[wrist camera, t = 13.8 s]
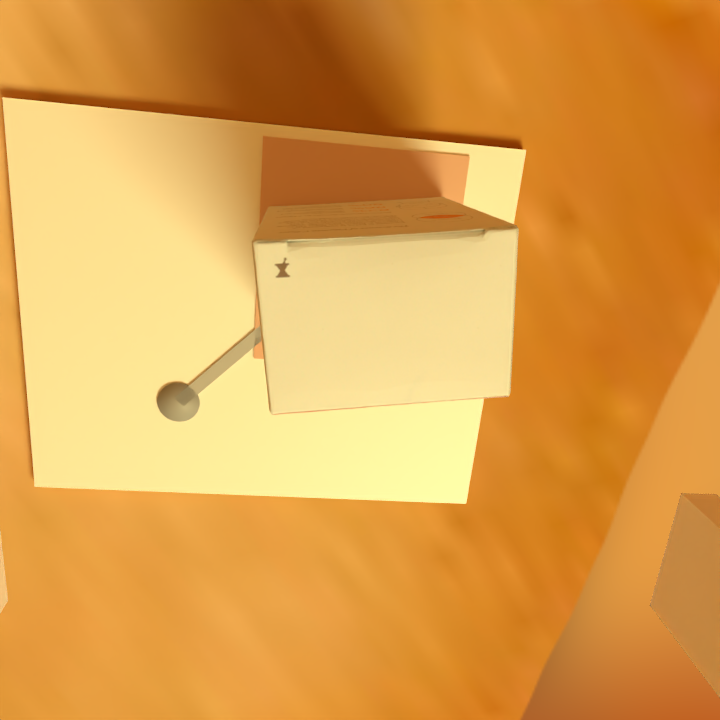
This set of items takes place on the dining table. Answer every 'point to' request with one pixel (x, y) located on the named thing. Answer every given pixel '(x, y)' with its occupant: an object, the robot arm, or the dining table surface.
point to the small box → (384, 303)
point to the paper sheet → (208, 303)
